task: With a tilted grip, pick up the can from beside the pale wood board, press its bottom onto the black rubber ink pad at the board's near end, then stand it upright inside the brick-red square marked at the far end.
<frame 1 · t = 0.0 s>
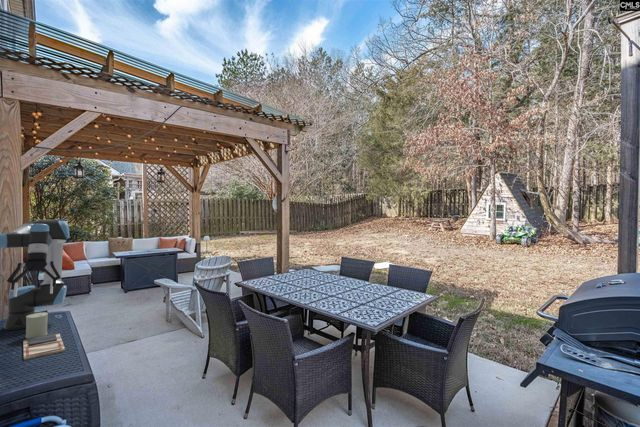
hand: (33, 295, 158), 28 cm above the table, tool tilted 20°, fingers open, 13 cm apart
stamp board: (43, 346, 163), on the table
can: (36, 335, 177), on the table
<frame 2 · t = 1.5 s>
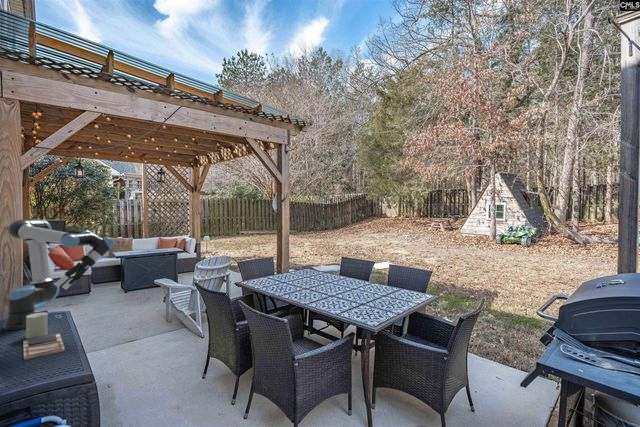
hand: (60, 286, 185), 26 cm above the table, tool tilted 45°, fingers open, 13 cm apart
nothing on the table moved.
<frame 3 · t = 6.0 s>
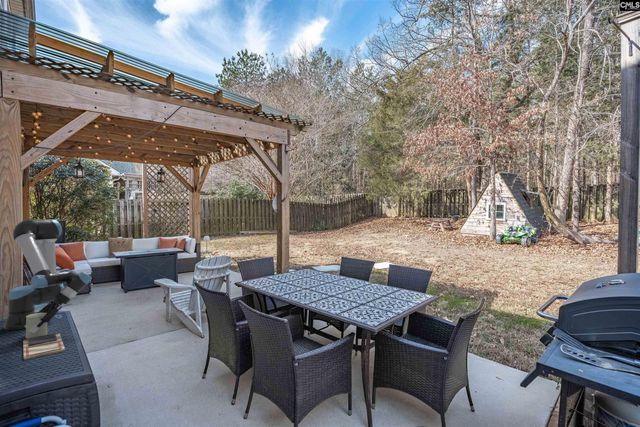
hand: (29, 330, 174), 4 cm above the table, tool tilted 45°, fingers closed on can, 9 cm apart
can: (36, 335, 177), on the table, touching gripper
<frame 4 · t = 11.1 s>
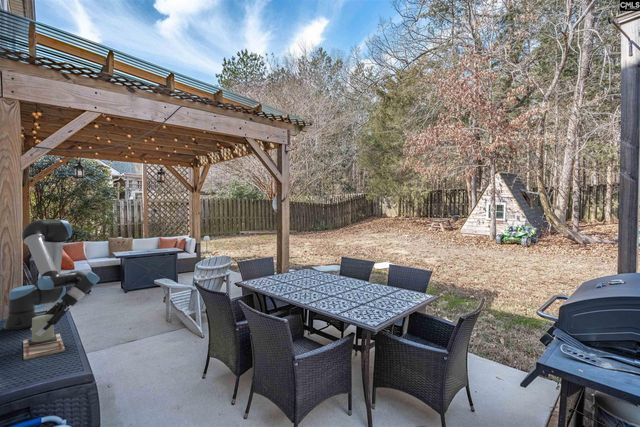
hand: (35, 333, 166), 6 cm above the table, tool tilted 45°, fingers closed on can, 9 cm apart
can: (42, 339, 168), point 2 cm above the table, touching gripper, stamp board
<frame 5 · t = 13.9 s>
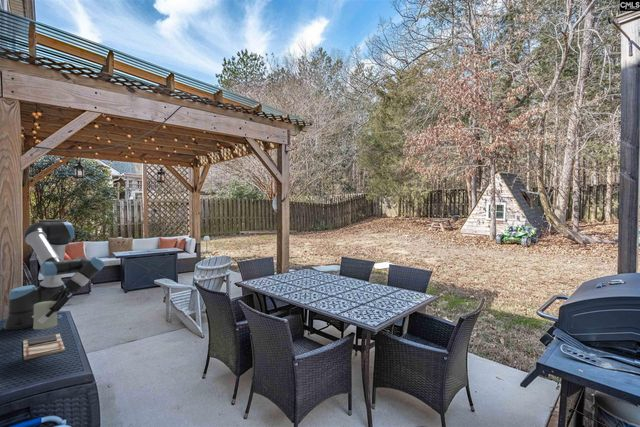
hand: (36, 320, 156), 16 cm above the table, tool tilted 45°, fingers closed on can, 9 cm apart
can: (45, 326, 159), point 12 cm above the table, touching gripper
when the fingers open (6 cm above the table, at t = 16.1 s): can drops 1 cm, resting on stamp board.
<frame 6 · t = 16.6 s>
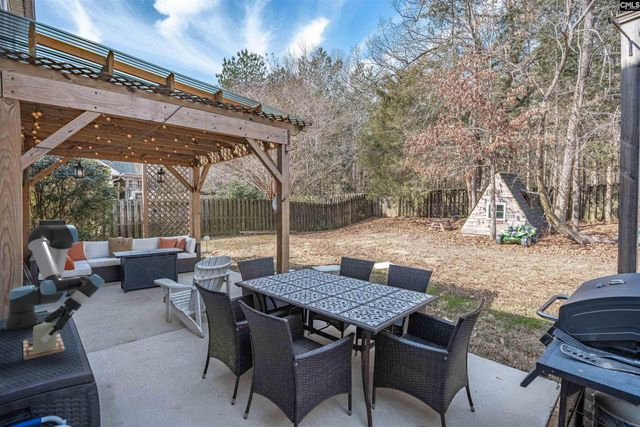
hand: (38, 337, 156), 7 cm above the table, tool tilted 45°, fingers open, 13 cm apart
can: (44, 348, 158), point 1 cm above the table, touching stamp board
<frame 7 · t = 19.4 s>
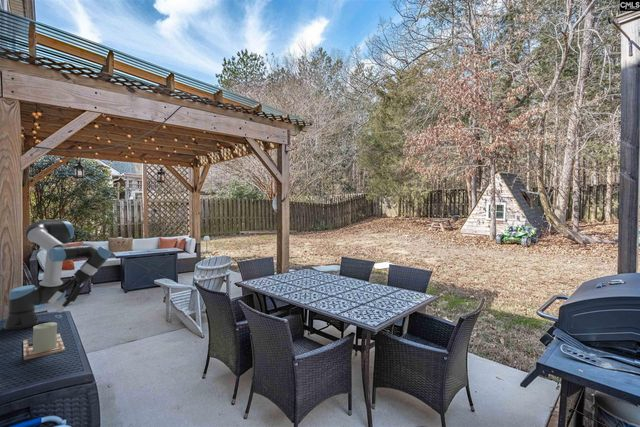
hand: (54, 307, 165), 20 cm above the table, tool tilted 40°, fingers open, 13 cm apart
nothing on the table moved.
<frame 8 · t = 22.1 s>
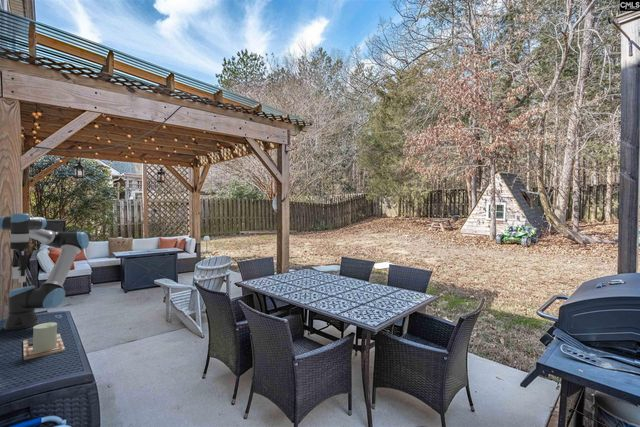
hand: (18, 280, 173), 32 cm above the table, tool pointing down, fingers open, 13 cm apart
nothing on the table moved.
at the end: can 0.1 cm from the target spot on the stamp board, point 0.8 cm above the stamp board's base; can tilted 0°; the gripper is holding nothing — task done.
